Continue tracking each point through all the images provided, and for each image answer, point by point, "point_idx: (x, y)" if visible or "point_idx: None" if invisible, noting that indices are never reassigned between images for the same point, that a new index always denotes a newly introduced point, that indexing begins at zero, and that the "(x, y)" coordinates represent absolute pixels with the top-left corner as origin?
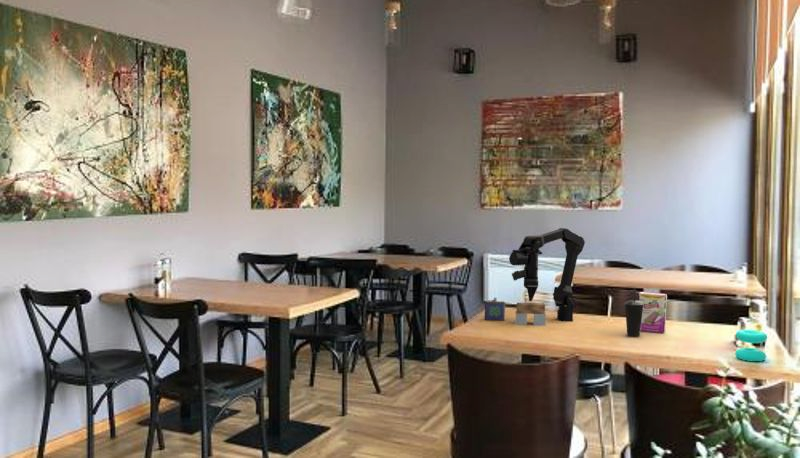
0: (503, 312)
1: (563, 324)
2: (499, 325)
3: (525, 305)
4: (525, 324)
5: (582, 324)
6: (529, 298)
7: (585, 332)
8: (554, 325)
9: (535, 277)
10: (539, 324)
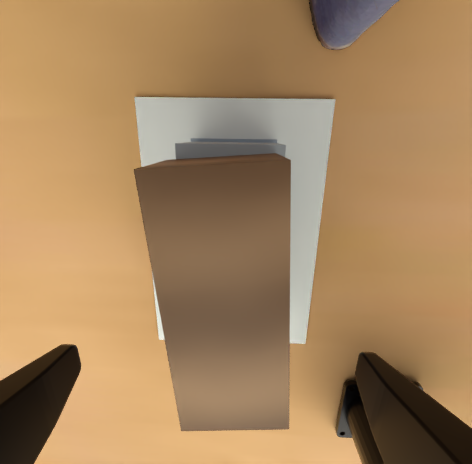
0: (344, 6)
1: None
2: (138, 10)
3: (153, 263)
4: None
5: (287, 455)
6: (26, 374)
7: (115, 448)
8: None
9: None
10: None
